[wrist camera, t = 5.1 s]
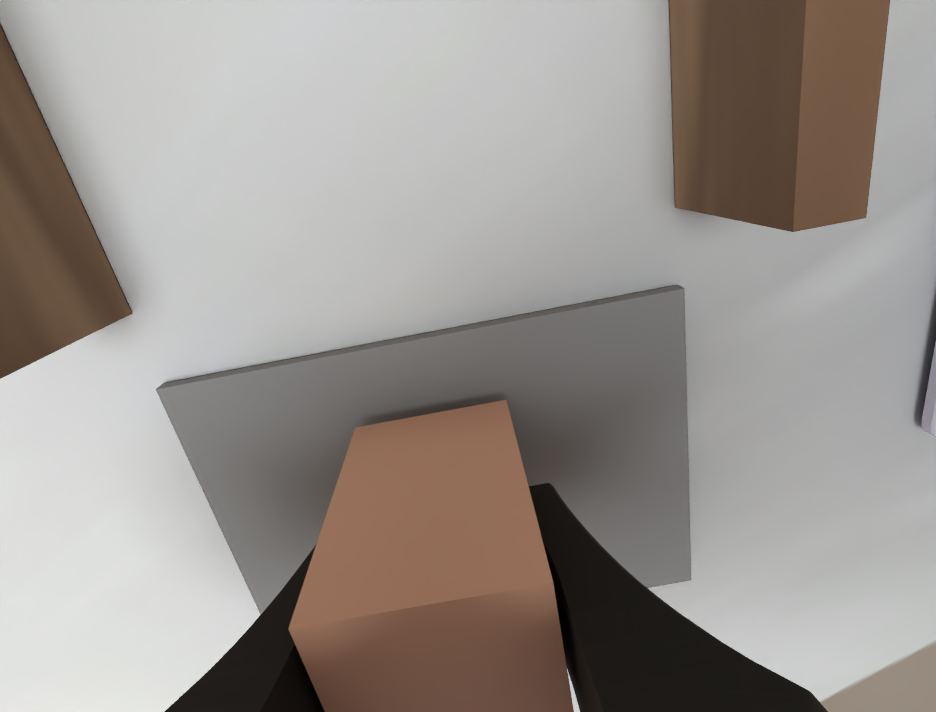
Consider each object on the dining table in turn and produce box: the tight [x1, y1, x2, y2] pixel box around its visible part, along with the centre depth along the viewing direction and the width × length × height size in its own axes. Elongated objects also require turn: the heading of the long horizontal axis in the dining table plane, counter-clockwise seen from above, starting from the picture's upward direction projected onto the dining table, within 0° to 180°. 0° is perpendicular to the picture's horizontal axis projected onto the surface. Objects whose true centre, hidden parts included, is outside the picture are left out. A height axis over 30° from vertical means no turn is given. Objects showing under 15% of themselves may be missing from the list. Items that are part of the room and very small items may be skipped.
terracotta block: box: [288, 400, 574, 712], centre depth 11 cm, size 4×4×6 cm
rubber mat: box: [156, 285, 691, 614], centre depth 15 cm, size 14×10×1 cm
